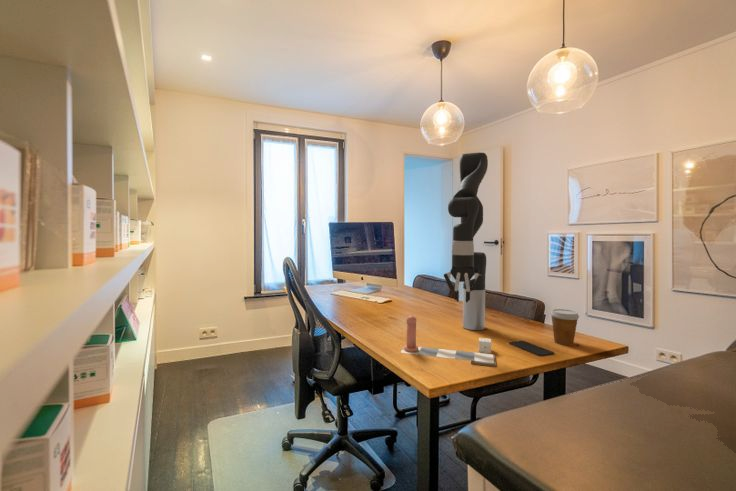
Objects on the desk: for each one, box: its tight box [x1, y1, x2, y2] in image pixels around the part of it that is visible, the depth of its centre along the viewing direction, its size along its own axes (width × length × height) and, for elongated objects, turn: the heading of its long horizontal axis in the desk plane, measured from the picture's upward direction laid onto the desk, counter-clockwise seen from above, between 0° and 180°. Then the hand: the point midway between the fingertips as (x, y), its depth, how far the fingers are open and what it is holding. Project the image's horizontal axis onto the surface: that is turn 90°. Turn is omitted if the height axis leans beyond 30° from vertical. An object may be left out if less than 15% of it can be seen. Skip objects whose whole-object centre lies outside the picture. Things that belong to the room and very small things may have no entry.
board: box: [400, 346, 497, 368], centre depth 117 cm, size 9×31×1 cm, turn 73°
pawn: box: [403, 315, 419, 352], centre depth 120 cm, size 5×5×12 cm
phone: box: [508, 340, 555, 357], centre depth 125 cm, size 7×1×15 cm
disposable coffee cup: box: [549, 308, 580, 346], centre depth 132 cm, size 10×10×12 cm
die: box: [478, 337, 492, 354], centre depth 122 cm, size 4×4×4 cm
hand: (462, 301), depth 124 cm, fingers open, 2 cm apart
